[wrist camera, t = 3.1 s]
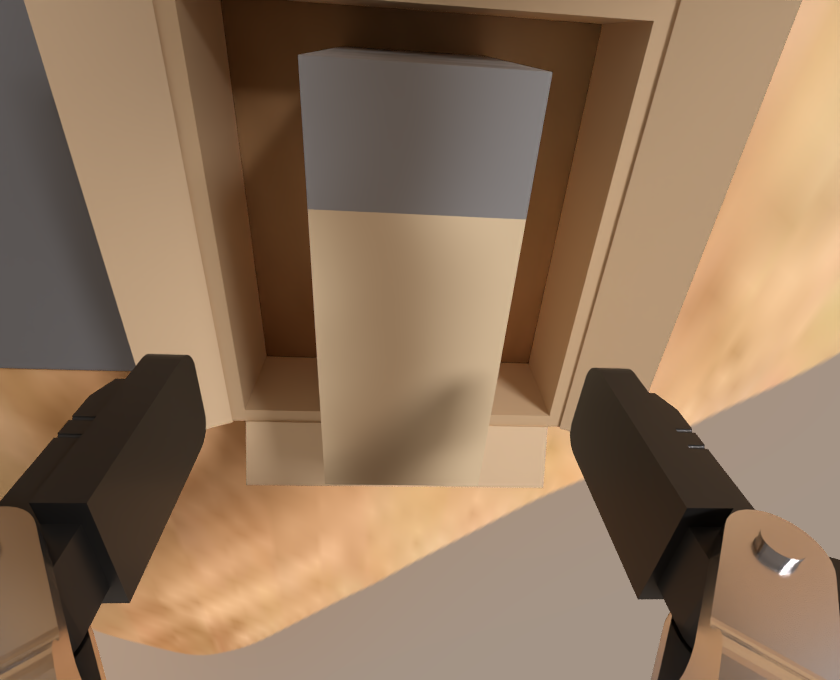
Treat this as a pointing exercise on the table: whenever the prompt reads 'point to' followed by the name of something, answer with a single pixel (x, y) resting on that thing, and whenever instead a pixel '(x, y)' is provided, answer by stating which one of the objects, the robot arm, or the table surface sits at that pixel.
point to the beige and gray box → (414, 251)
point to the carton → (574, 245)
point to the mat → (46, 228)
